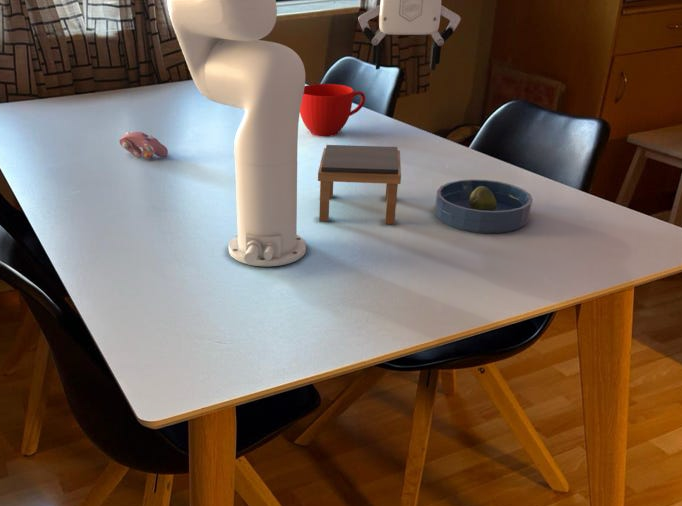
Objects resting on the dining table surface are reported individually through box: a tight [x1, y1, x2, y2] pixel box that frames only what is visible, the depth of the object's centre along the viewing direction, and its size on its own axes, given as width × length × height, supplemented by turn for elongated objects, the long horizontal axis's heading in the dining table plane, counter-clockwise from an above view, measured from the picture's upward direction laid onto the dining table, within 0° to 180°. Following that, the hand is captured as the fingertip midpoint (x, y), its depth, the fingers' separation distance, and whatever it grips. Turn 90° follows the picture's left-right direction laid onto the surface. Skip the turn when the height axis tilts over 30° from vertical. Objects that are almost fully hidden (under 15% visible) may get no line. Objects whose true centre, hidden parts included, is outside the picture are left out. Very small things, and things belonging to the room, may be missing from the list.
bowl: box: [434, 178, 533, 234], centre depth 128 cm, size 16×16×4 cm
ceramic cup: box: [299, 83, 366, 138], centre depth 172 cm, size 13×17×10 cm
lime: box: [469, 186, 497, 211], centre depth 127 cm, size 4×5×5 cm
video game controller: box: [119, 131, 169, 160], centre depth 158 cm, size 10×5×7 cm, turn 62°
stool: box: [317, 144, 402, 225], centre depth 130 cm, size 14×14×10 cm
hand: (404, 68), depth 128 cm, fingers open, 9 cm apart
